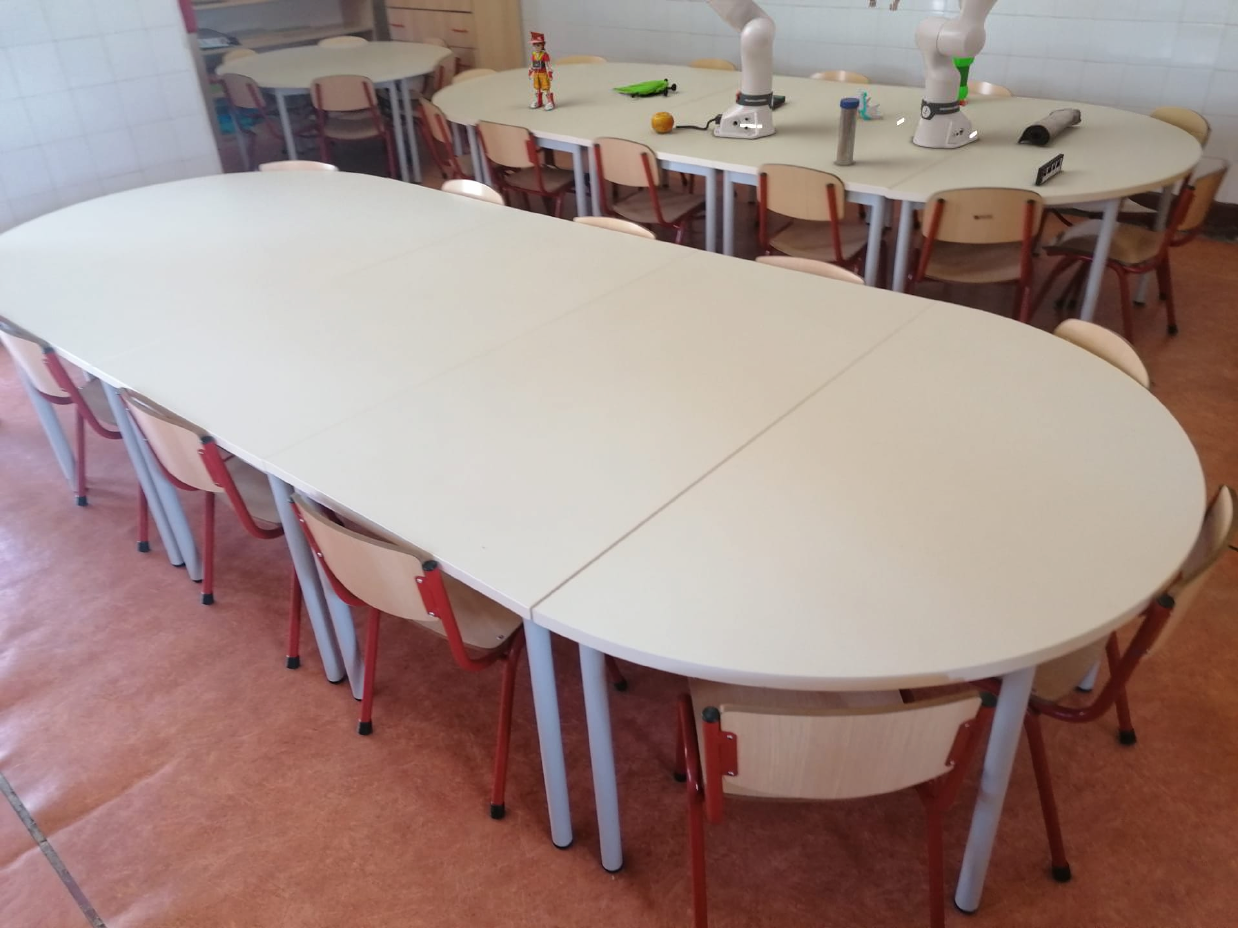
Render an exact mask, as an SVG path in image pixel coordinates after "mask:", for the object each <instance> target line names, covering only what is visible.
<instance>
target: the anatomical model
mask: <svg viewBox="0 0 1238 928" xmlns="http://www.w3.org/2000/svg"><path fill="white" fill-rule="evenodd" d="M866 97H867V98H866ZM850 98H858V99H859V100H860V103H859V107H858V111H857V112H860V114H861V116H862V117H863V119H864V120H871V119H873V118H879V119H880V118H883V117H884V116H885V115H884V113H879V112H878V111H877V110H878V108H879V107H880V106H881V104H880V103H875V104H874V105H869V102H870V101H871V99H872V98H871V97H870V96H869V97H868V94H867V92H866V91H864V90H863V89H862V88H861V89H859V90H858V92H857V93H856V94H853V95H851V96H850Z"/></svg>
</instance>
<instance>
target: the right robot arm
mask: <svg viewBox="0 0 1238 928" xmlns="http://www.w3.org/2000/svg"><path fill="white" fill-rule="evenodd" d="M900 1H901V0H892V2H891V3H889V11H893V12H895V11H897V10H898V7H899V3H900ZM957 1H958V7H959V9H960V10H959V13H958V14H957V15H956V16H955V17H954V18H950V17H944V16H932V17H931V16H930V17H927V18H924V19H922V20H921V21H920V22H919V24H918V25H917V27H916V29H915V33H914V42H915V45H916V47H917V48H918V49H919V51H920V53H921V55H922V59H923V63H924V68H925V83H924V90H923V91H924V92H923V98H922V99H921V104H920V114H919V117H918V120H917V124H916V125H917V126H916V129H915V133H914V134H913V140H912V143H913V144H915V145H917V146H919V147H925V148H934V149H935V148H936V149H937V148H939V149H940V148H941V149H942V148H944V149H955V148H958V147H959V148H960V147H961V146H964V145H967V144H970V143H972V142H975V141H978V135H977V131H974V132H973V131H972V130H973V124H972V120H971V119H970V118H969V117H968V116H966V115H965V114H964V113H963V112H962V111H961V107H965V106H967V103H968V102H967V100H966V99H964V100H962V99H961V100H958V93H959V87H960V81H961V75H960V72H959V71H958V69H957V68H956V67H955V64H954V61H953V57H954V58H972V57H977V56H978V55H980V53H981V51H982V50H983V49H984V47H985V44H986V41H987V34H986V30H985V22H986V19H987V17H988V15H989V13H990V12H991V10H992V9H993V8H994V6H995V4H996V3H997V2H998V0H957ZM867 6H868V7H869V8H876V6H877V0H868V5H867ZM904 121H905V118H902V119H900V120H898V121H897V122H896V123H897V125H900V124H901V123H903V122H904Z"/></svg>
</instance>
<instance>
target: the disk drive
mask: <svg viewBox="0 0 1238 928" xmlns="http://www.w3.org/2000/svg"><path fill="white" fill-rule="evenodd" d="M785 103H786V95H779V94H778V95H777V94H773V106H772V110H774V109H776V108H778V107H779V106H781V105H783V104H785Z"/></svg>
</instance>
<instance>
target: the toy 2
mask: <svg viewBox="0 0 1238 928" xmlns="http://www.w3.org/2000/svg"><path fill="white" fill-rule="evenodd" d="M669 85H670V83H669V79H668V78H664V79H663V80H649V81H644V82H640V83H634V84H629V85H627V86H621V87H613V88H612V89H613V90H616V91H619V92H623V93H627V94H628V93H629V94H631V95H630V96H631V98H632V99H634V98H636V96H637V95H650V94H652V93H654V94H658V93H662V95H663V96H665V97H667V96H668V95H669V90H671V91H672V92H676V91H677V84H676V83H672V84H671V86H669Z"/></svg>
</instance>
